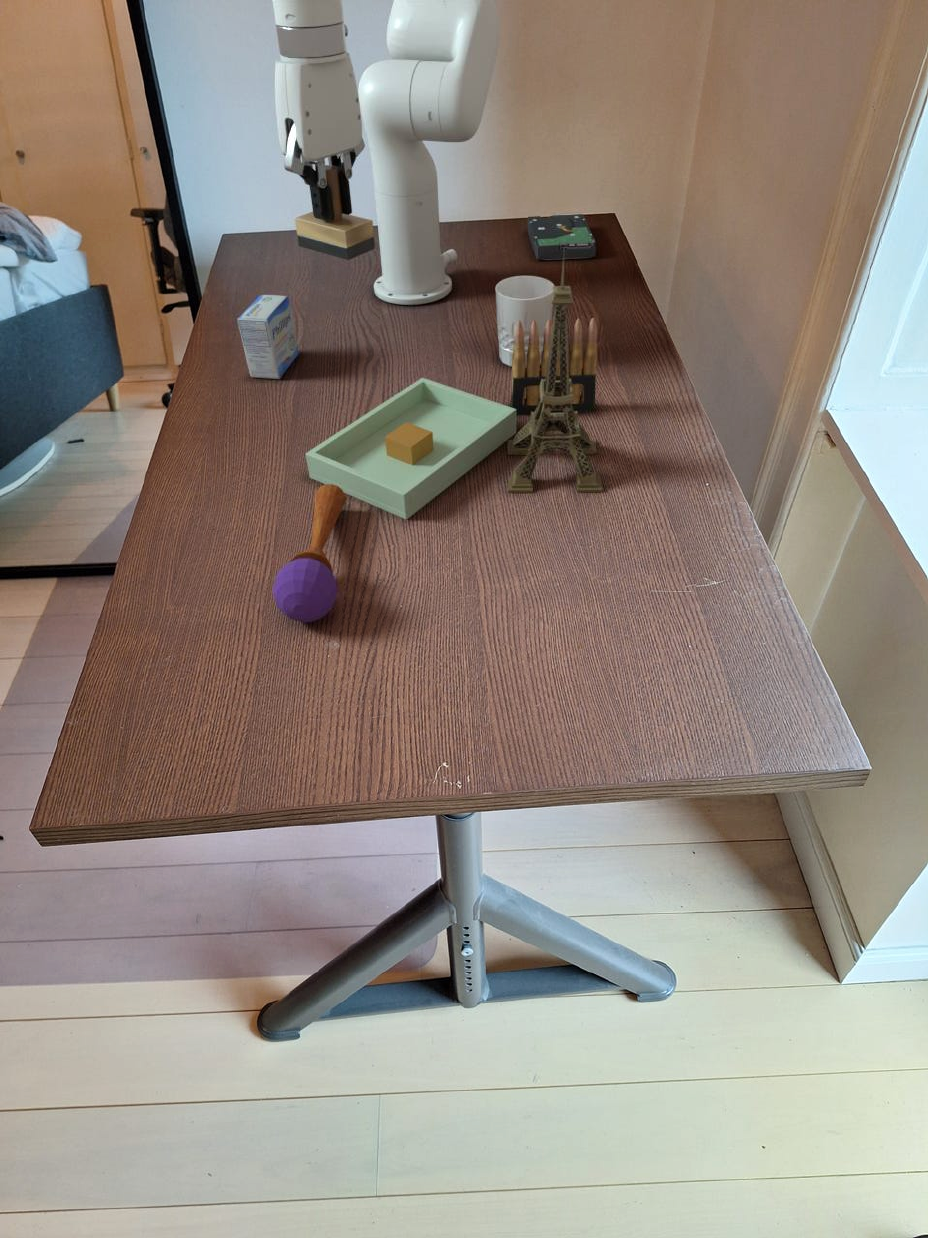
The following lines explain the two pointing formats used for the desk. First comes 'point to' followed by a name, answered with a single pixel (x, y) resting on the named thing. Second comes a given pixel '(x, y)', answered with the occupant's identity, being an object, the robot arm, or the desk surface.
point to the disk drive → (561, 237)
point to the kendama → (311, 565)
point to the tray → (402, 489)
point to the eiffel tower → (543, 421)
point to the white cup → (522, 311)
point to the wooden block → (409, 443)
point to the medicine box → (268, 336)
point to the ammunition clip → (576, 373)
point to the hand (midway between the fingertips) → (332, 214)
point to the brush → (335, 228)
